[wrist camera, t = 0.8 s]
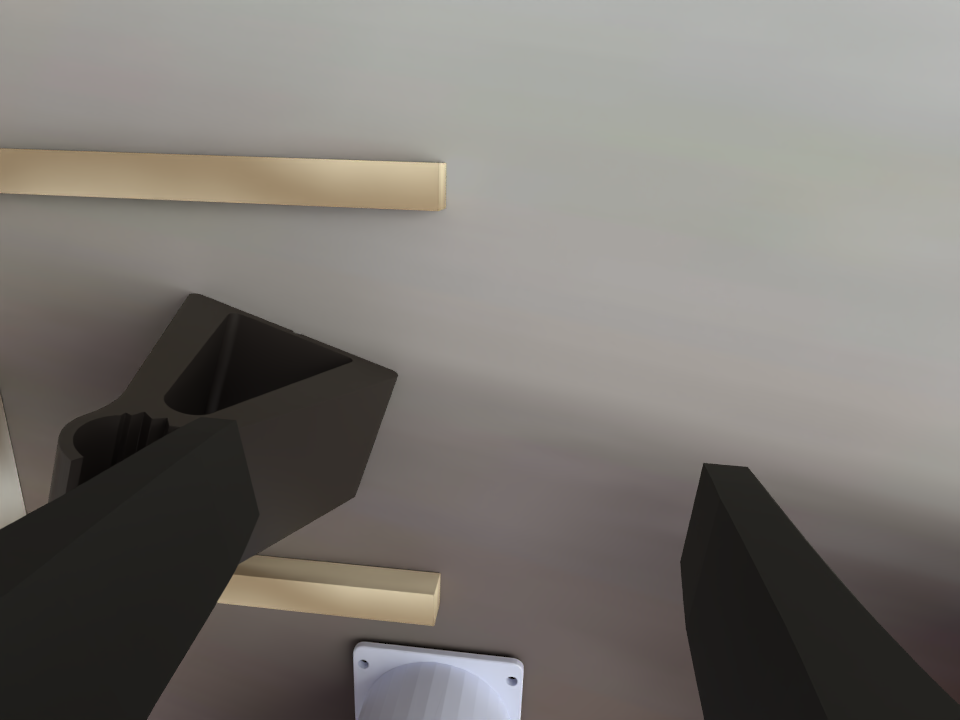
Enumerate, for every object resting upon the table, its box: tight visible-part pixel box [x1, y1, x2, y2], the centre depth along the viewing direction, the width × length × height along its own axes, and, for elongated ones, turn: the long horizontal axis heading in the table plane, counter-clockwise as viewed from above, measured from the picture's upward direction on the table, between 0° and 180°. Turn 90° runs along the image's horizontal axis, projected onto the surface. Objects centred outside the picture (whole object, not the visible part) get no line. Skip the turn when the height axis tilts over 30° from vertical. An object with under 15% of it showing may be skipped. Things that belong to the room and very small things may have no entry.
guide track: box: [0, 148, 446, 626], centre depth 25 cm, size 19×22×4 cm
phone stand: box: [48, 294, 398, 564], centre depth 21 cm, size 9×6×12 cm, turn 69°
